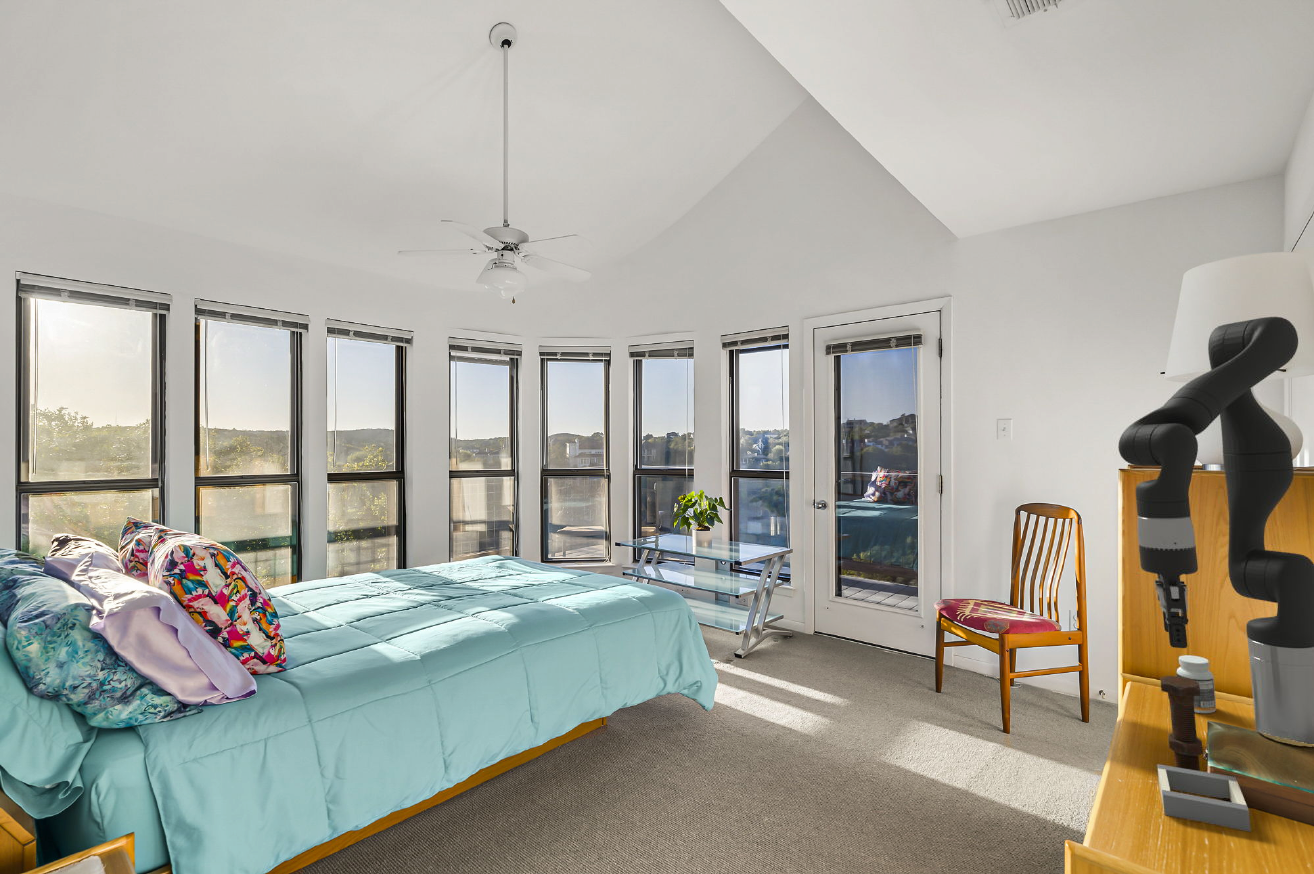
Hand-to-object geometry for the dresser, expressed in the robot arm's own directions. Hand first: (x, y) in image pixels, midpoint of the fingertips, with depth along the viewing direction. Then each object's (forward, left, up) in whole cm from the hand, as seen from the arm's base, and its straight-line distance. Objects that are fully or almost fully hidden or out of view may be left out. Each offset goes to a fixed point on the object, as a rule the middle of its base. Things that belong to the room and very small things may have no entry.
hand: (1175, 639), depth 107 cm
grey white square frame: (+11, 0, -22) cm, 25 cm away
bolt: (0, 0, -22) cm, 22 cm away
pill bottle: (-29, +4, -22) cm, 37 cm away
